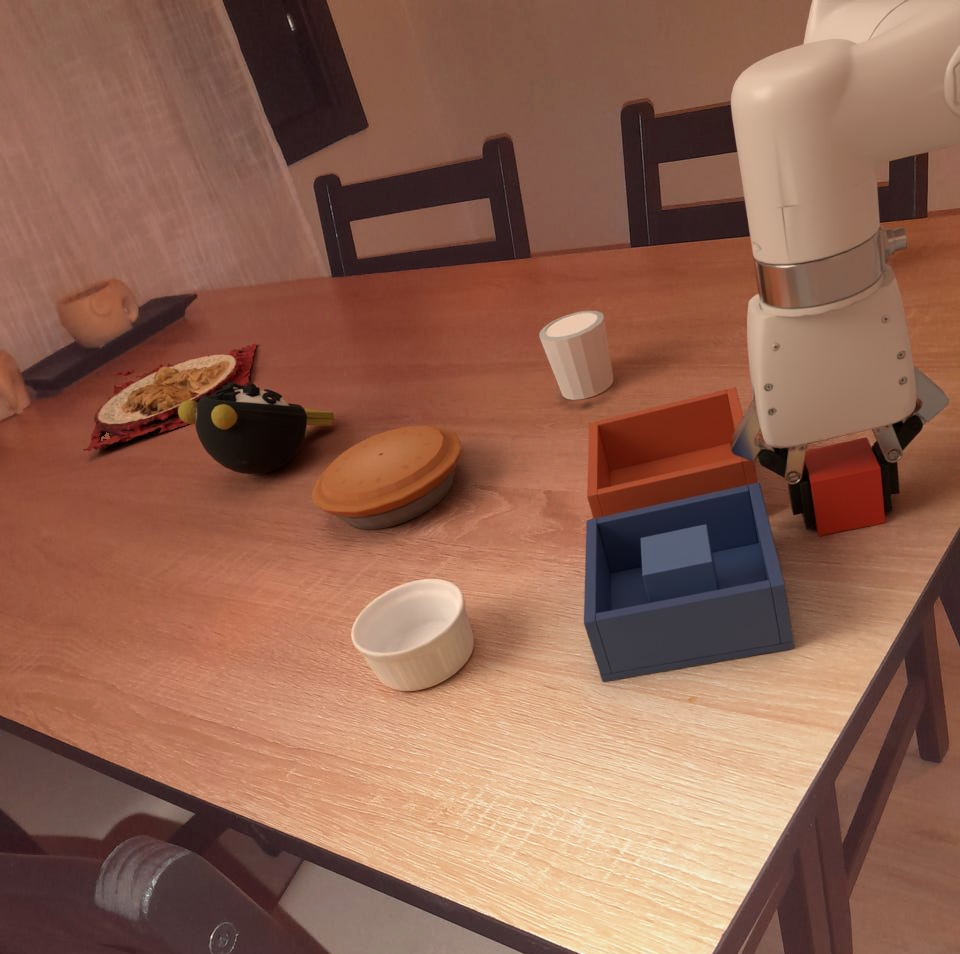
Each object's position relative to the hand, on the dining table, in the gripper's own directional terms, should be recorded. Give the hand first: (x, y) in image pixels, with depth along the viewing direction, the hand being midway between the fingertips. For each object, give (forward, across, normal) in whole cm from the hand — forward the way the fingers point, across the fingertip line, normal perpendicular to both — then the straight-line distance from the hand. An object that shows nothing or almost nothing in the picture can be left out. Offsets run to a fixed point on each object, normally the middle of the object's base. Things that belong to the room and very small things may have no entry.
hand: (845, 508), depth 72 cm
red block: (0, 0, 0) cm, 0 cm away
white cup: (+1, +20, -34) cm, 39 cm away
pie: (+1, +39, -19) cm, 43 cm away
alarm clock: (+1, +57, -35) cm, 67 cm away
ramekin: (+1, +32, +8) cm, 33 cm away
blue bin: (0, +12, +8) cm, 14 cm away
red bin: (0, +12, -8) cm, 14 cm away
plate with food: (+1, +83, -67) cm, 107 cm away
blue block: (0, +12, +8) cm, 14 cm away
